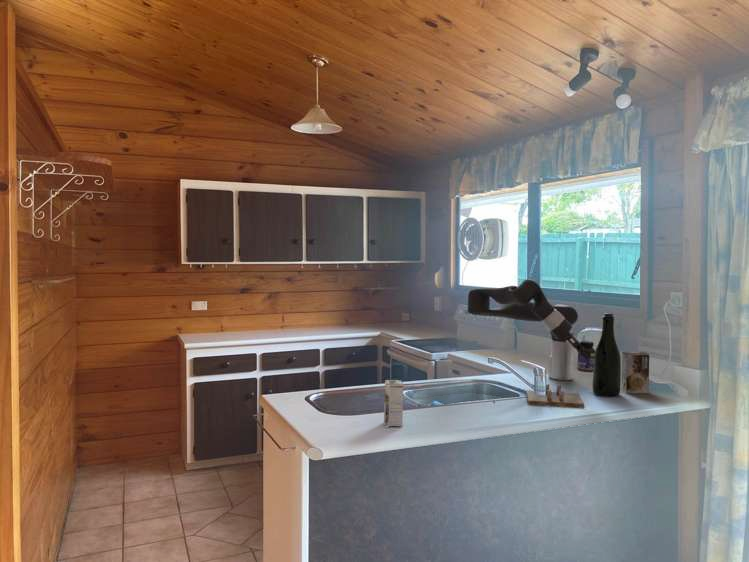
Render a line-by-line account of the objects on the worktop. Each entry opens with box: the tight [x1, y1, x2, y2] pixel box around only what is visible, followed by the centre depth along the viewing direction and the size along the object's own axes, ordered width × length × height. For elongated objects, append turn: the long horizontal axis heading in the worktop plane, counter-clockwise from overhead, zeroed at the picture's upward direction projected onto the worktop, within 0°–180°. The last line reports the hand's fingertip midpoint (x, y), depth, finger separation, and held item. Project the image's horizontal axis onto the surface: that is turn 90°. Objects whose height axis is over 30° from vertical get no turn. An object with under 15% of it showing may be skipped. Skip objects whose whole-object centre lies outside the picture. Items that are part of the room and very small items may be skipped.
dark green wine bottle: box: [592, 312, 622, 398], centre depth 238 cm, size 10×10×33 cm
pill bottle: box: [576, 340, 596, 373], centre depth 223 cm, size 6×6×11 cm
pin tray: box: [525, 383, 585, 409], centre depth 228 cm, size 20×16×5 cm
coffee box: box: [620, 351, 650, 394], centre depth 243 cm, size 9×6×16 cm
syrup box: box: [383, 379, 404, 427], centre depth 196 cm, size 6×6×14 cm
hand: (587, 356), depth 223 cm, fingers closed on pill bottle, 6 cm apart
